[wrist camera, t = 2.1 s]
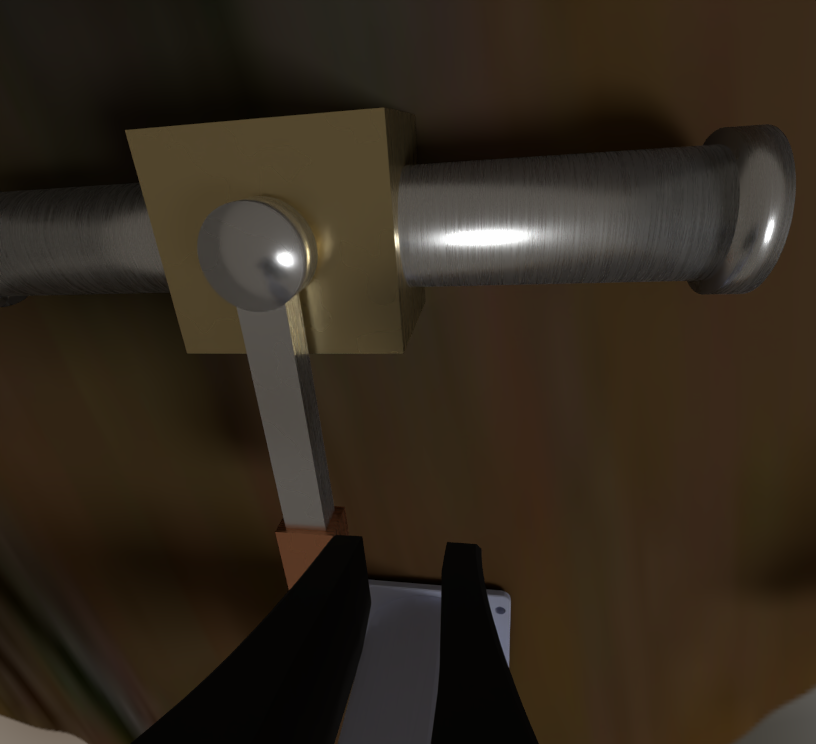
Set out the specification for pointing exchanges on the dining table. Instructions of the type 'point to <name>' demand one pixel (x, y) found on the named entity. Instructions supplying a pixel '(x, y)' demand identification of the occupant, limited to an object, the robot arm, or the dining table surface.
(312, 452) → the lever
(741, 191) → the valve pipe
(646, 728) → the dining table surface
